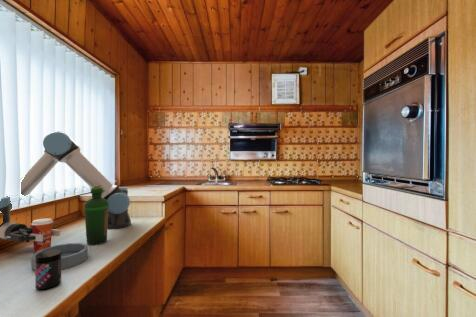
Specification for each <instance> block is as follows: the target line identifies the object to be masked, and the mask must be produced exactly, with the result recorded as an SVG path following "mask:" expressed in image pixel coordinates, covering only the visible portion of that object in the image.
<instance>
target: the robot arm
mask: <svg viewBox="0 0 476 317" xmlns="http://www.w3.org/2000/svg"><path fill="white" fill-rule="evenodd" d="M42 146H43V148H44V151H43V152H44V153H43V154H42V156H41V157H40V158H39V159H37V161H36V162H35V163H34V165H32V166H31V167H30V169H29V170H28V171H27V172H26V173H27V174H26V173H25V174H26V175H25V177H24V179H23V180H22V182H21V194H22V195H24V196H26V195H28V194H29V195H30V194H31V192H33V191H34V189H35V188H36V187H37V186H38V185H39V184H40V182H42V180H44V178H45V177H46V176H47V175H48V174H49V173H50V171H52V169H53V168H54V167H55V166H56V165H57V164H58V163H65V164H66V165H67V166H68V167H69V168H70V169H71V170H72V171H73V172H74V173H75V174H76V175H77V176H78V177H79V178H80V179H82V180H83V181H84V182H85V183H86V184H87V185H88V187H89V188H90V189H91V188H93V185H100V187H101V188H102V190H103V192H102V196H101V198H104V199H106V200H107V201H108V202H109V208H108V226H107V230H108V229H110V230H111V229H121V228H127V227H129V226H131V224H132V222H131V221H132V219H131V217H130V215H129V212H128V211H129V206H130V205H131V204H130V202H131V200H130V197H129V196H128V193H129V191H128V187H119V185H117V184H112V183H111V181H110V180H109V179H108V178H106V177H105V176H104V175H103V173H102V172H101V171H100V170H98V168H96V166H94V165H93V163H92V162H90V161H89V159H87V157H86V156H85V155H84V154H83V153H82V152H81V147H80V146H79V145H78V144H77V143H76V142H75V141H74V139H73V138H72V137H71V136H70V135H68V134H67V133H66V132H63V131H53V132H49V133H48V134H47V135H46V136H44V138H43V141H42ZM29 195H28V196H29ZM5 196H6V195H5ZM10 202H11V201H10V197H8V196H6V197H3V198H2V199H1V201H0V211H1V212H2V213H3V214H4V215H3V223H2V224H1V225H0V240H1V239H2V240H6V241H15V242H20V243H22V242H23V243H24V241H25V243H30V241H32V242H33V241H40V242H42V241H43V235H41V234H33V230H32V227H31V226H27V224H25V223H20V222H19V223H18V222H11V212H10V210H11V209H12V204H11V203H10ZM9 212H10V213H9ZM52 236H53V237H60V236H61V229H55V228H54V226H52ZM52 236H51V237H52Z"/></svg>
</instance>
